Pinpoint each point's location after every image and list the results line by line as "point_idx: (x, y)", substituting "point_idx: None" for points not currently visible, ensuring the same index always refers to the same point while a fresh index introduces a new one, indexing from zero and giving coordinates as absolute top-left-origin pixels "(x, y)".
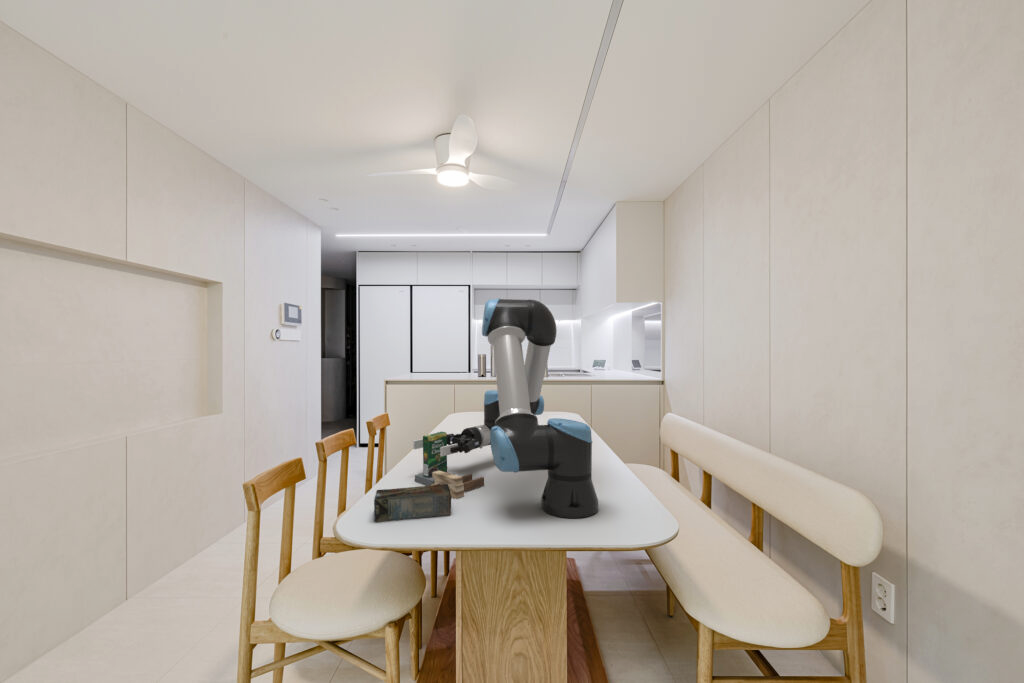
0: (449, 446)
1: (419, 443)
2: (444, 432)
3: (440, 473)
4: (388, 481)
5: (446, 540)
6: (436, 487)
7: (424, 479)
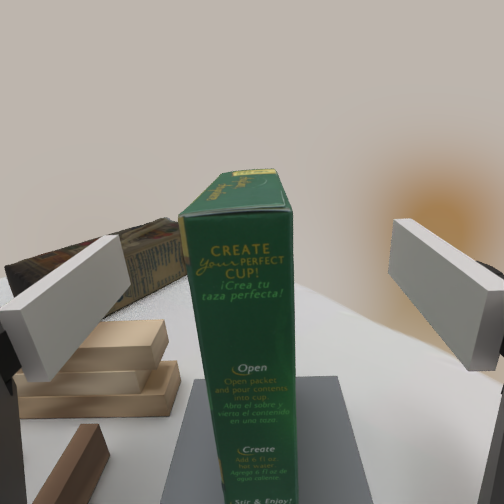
0: (68, 265)
1: (410, 260)
2: (207, 206)
3: (117, 328)
4: (404, 342)
5: (6, 278)
6: (54, 260)
7: None
